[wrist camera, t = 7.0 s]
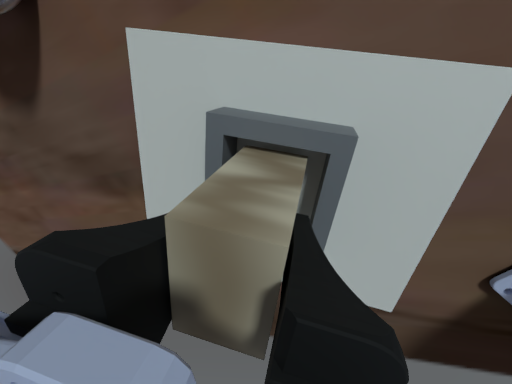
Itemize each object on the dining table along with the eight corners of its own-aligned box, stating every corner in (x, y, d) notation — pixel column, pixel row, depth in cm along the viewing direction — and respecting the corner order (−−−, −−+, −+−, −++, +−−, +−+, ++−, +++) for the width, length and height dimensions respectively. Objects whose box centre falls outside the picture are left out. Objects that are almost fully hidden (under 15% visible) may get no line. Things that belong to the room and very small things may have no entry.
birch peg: (308, 156, 13) (288, 247, 6) (291, 231, 15) (263, 360, 8) (246, 145, 14) (164, 216, 7) (239, 218, 16) (172, 329, 9)
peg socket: (517, 69, 11) (577, 67, 8) (389, 306, 18) (400, 345, 16) (131, 28, 14) (88, 18, 12) (153, 241, 22) (129, 263, 19)
